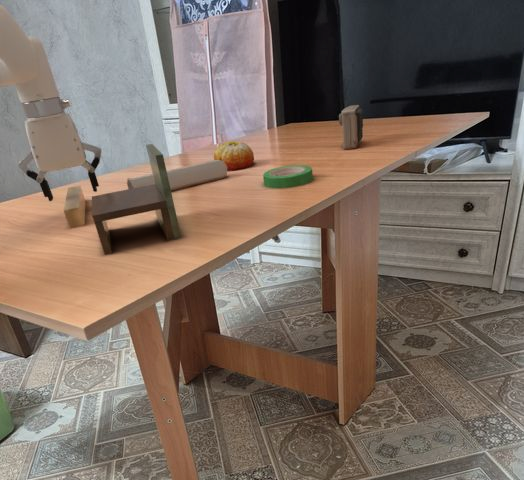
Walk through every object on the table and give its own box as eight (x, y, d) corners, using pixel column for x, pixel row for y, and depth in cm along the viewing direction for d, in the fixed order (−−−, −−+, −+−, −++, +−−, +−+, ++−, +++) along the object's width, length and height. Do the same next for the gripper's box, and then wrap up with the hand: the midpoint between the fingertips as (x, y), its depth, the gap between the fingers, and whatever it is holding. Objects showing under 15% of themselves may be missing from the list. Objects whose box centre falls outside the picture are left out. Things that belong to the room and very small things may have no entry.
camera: (345, 142, 140) (344, 105, 134) (365, 141, 138) (365, 103, 132) (338, 150, 131) (337, 111, 125) (359, 149, 129) (359, 109, 124)
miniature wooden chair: (105, 256, 78) (77, 170, 71) (103, 232, 91) (79, 156, 83) (182, 239, 81) (162, 154, 74) (169, 218, 93) (152, 143, 86)
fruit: (207, 172, 126) (205, 140, 124) (227, 174, 135) (226, 144, 133) (243, 170, 121) (242, 136, 119) (261, 172, 130) (261, 141, 128)
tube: (219, 159, 120) (125, 180, 111) (226, 154, 115) (129, 175, 106) (225, 181, 121) (132, 203, 112) (233, 176, 116) (137, 199, 107)
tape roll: (286, 191, 100) (285, 179, 98) (254, 186, 107) (253, 174, 106) (323, 179, 105) (322, 167, 104) (290, 175, 113) (289, 163, 111)
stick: (70, 229, 96) (63, 210, 94) (73, 204, 115) (67, 187, 113) (85, 226, 96) (78, 207, 94) (85, 201, 116) (80, 185, 114)
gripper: (87, 101, 99) (111, 183, 109) (2, 116, 96) (35, 199, 105) (87, 103, 93) (113, 190, 103) (-4, 119, 90) (31, 207, 99)
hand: (73, 195), depth 104 cm, fingers open, 9 cm apart
